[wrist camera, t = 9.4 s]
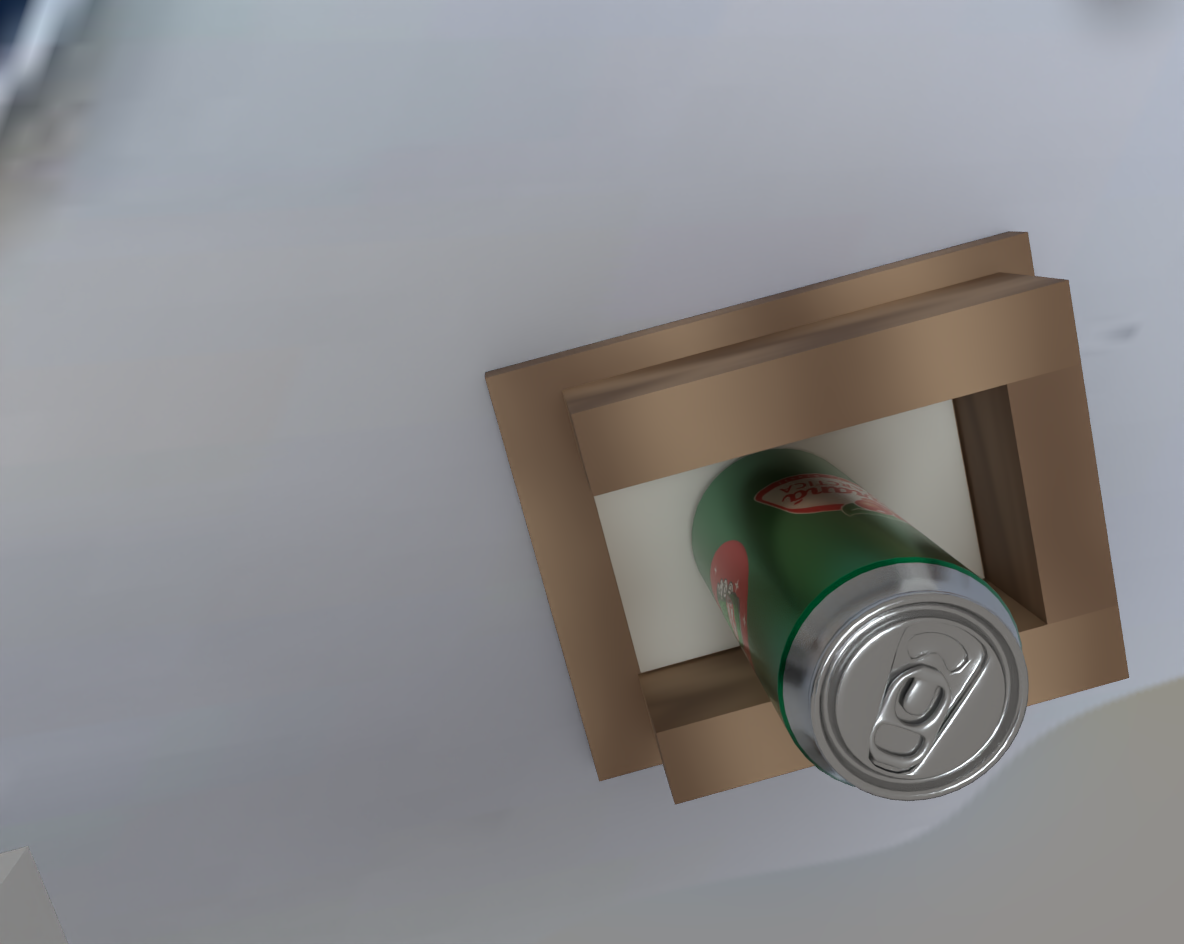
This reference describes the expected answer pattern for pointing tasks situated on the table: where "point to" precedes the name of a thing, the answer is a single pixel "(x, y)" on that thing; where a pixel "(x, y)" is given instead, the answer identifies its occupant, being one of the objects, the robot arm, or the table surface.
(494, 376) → the cradle
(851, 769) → the soda can
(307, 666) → the table surface
